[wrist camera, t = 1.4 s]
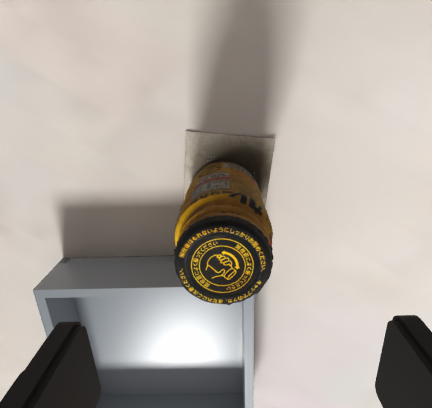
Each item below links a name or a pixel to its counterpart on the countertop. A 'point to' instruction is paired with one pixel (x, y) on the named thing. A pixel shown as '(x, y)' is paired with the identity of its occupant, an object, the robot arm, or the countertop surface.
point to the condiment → (224, 217)
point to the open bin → (153, 333)
